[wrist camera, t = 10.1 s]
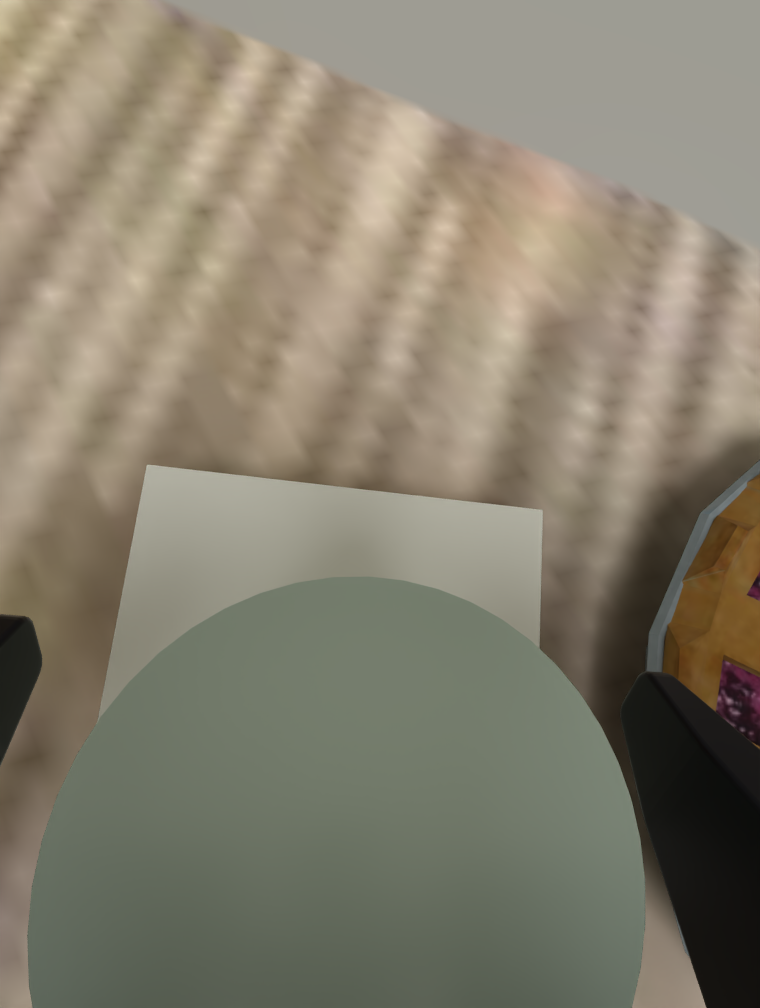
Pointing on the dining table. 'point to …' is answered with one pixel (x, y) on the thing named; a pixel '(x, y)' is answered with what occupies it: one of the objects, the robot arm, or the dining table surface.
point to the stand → (307, 553)
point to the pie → (717, 610)
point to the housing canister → (342, 820)
